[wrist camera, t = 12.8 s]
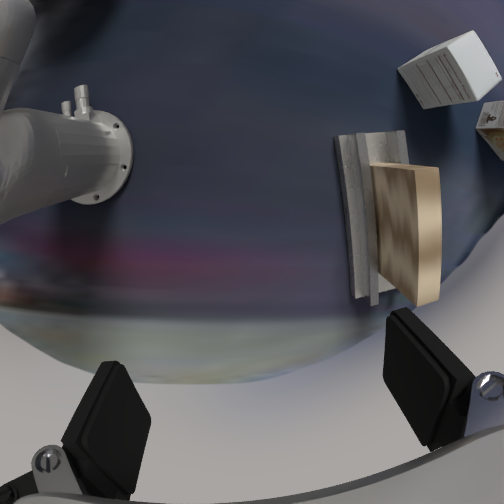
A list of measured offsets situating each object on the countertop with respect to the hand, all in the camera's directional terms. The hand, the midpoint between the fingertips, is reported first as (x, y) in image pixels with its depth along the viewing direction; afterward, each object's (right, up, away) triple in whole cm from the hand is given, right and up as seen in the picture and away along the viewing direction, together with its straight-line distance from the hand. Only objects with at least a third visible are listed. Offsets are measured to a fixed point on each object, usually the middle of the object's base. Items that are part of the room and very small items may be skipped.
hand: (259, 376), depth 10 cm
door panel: (+16, +9, +28) cm, 34 cm away
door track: (+17, +9, +30) cm, 35 cm away
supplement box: (+25, +30, +24) cm, 46 cm away
